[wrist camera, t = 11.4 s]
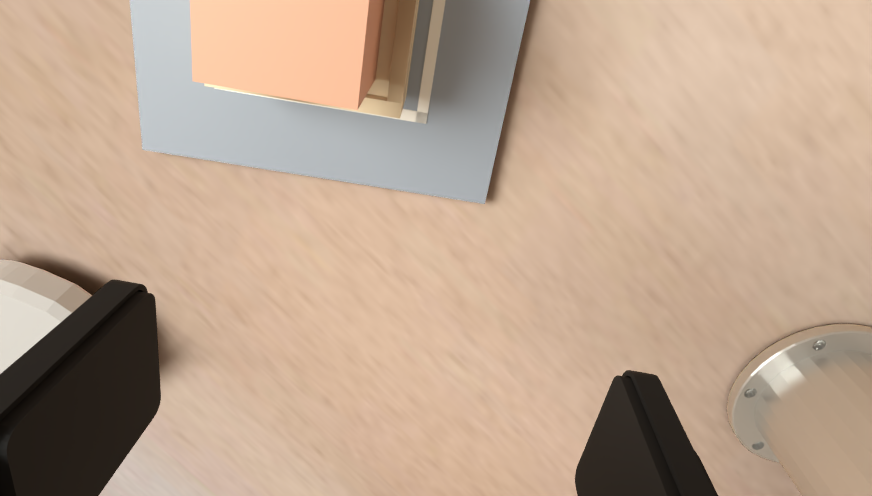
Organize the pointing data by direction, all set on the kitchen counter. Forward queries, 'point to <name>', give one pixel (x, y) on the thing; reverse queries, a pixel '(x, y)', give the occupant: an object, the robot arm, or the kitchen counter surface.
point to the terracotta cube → (288, 47)
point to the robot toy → (31, 307)
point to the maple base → (385, 62)
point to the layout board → (339, 128)
